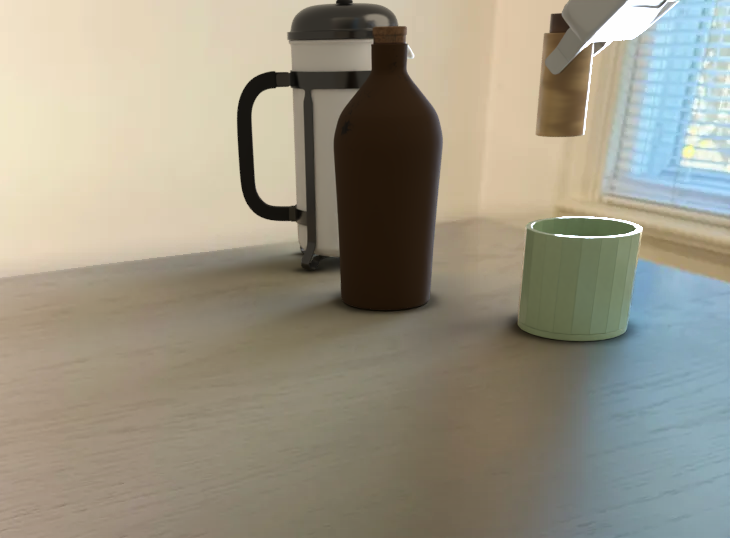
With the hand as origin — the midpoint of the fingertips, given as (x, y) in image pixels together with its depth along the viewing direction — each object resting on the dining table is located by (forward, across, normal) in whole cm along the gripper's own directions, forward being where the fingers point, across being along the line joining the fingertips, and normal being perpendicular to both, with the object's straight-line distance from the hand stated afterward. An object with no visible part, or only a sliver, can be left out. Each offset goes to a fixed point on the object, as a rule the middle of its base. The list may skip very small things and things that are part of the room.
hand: (560, 67), depth 87 cm
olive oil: (+24, -12, -6) cm, 28 cm away
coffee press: (+34, +2, +4) cm, 34 cm away
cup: (+10, -14, -20) cm, 26 cm away
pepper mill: (+4, 0, -5) cm, 6 cm away
